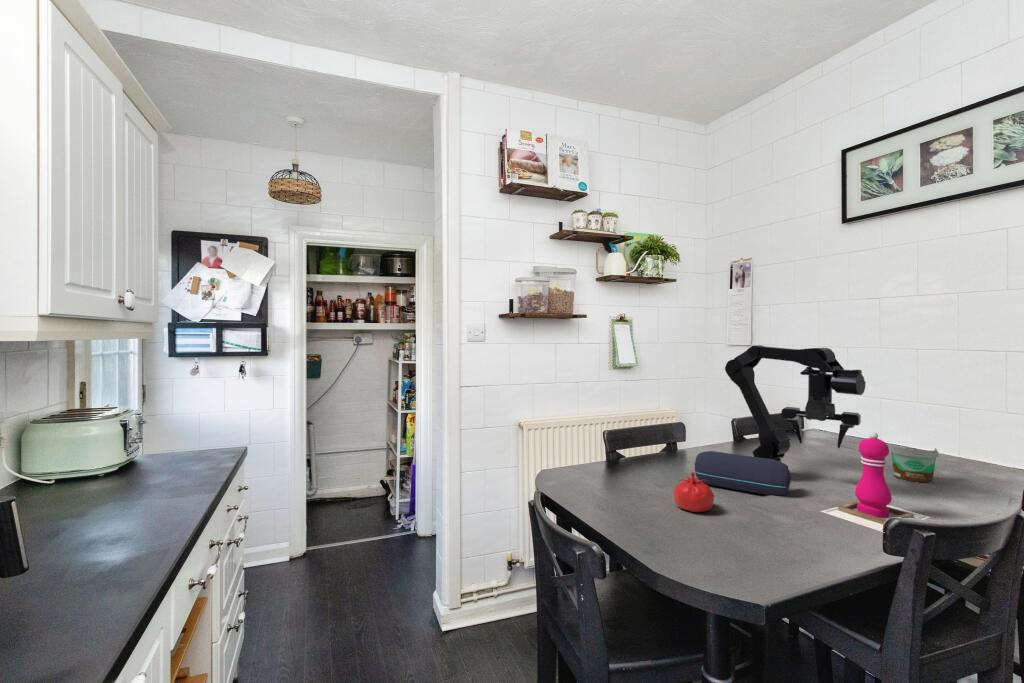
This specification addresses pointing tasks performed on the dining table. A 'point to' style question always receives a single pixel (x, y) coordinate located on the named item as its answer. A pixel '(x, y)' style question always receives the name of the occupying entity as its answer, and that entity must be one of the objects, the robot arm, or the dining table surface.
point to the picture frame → (867, 522)
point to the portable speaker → (743, 473)
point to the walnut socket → (848, 509)
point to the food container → (913, 464)
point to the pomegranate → (693, 495)
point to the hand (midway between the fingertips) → (819, 445)
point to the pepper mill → (873, 478)
